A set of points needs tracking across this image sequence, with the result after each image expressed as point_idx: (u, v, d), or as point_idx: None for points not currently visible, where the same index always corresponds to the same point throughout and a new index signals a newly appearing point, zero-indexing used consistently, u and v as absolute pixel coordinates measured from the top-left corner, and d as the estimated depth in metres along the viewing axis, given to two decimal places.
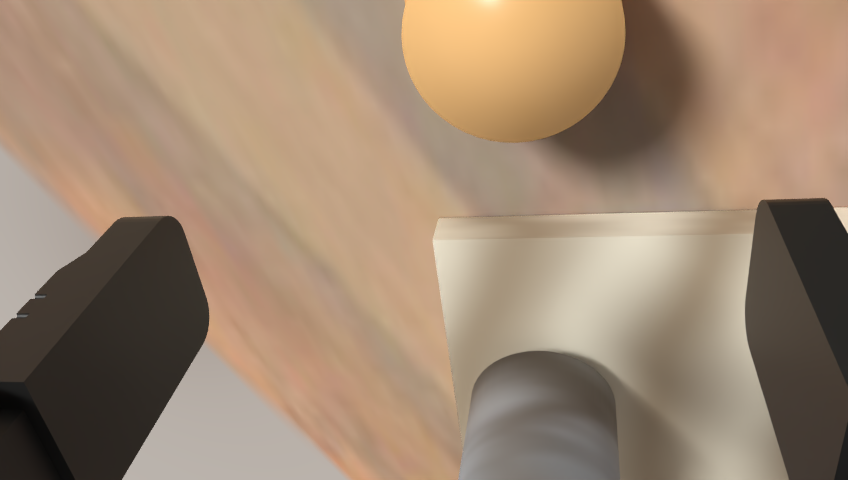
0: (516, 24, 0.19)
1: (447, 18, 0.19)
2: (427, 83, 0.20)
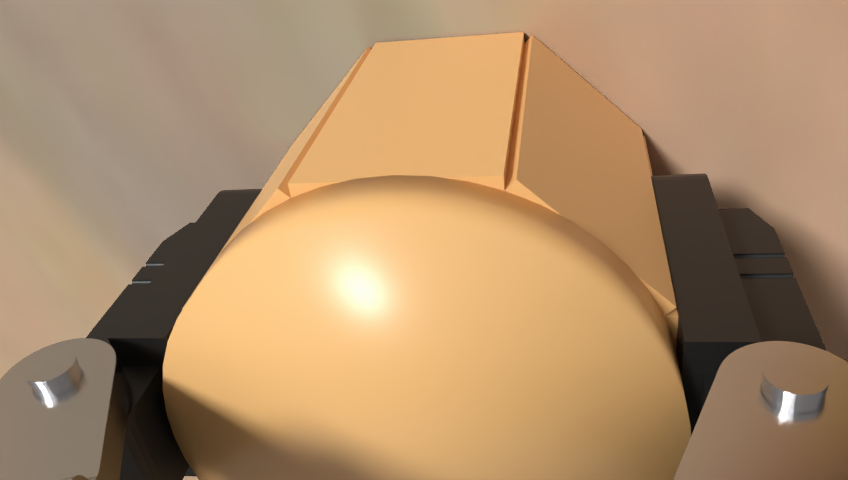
0: (426, 416, 0.08)
1: (264, 391, 0.08)
2: None
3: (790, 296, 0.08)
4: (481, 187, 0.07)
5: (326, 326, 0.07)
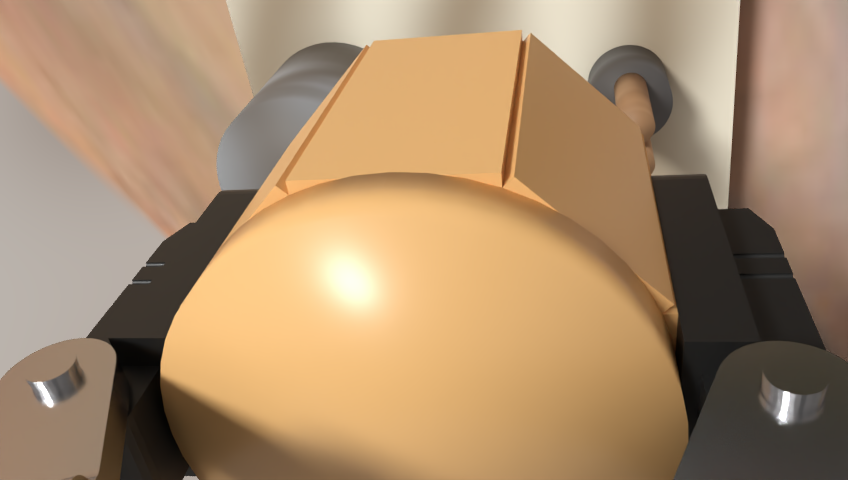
0: (424, 414, 0.08)
1: (262, 388, 0.08)
2: None
3: (790, 296, 0.08)
4: (479, 184, 0.07)
5: (323, 323, 0.07)
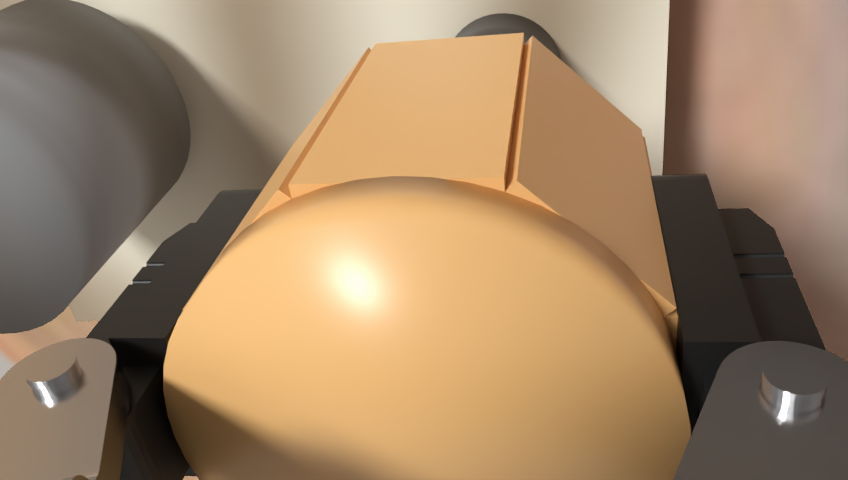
0: (426, 416, 0.08)
1: (266, 392, 0.08)
2: None
3: (790, 296, 0.08)
4: (481, 188, 0.07)
5: (326, 326, 0.07)
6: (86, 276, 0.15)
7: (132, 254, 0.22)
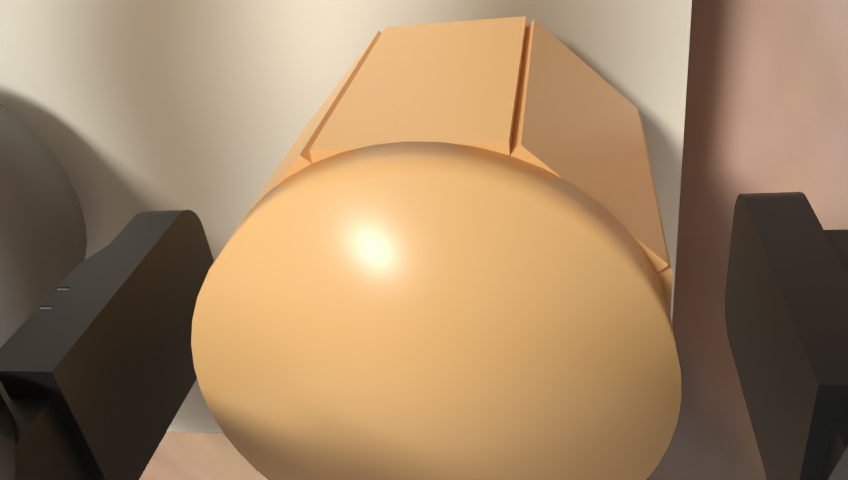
0: (436, 366, 0.08)
1: (285, 345, 0.09)
2: (260, 447, 0.10)
3: None
4: (488, 151, 0.08)
5: (344, 281, 0.08)
6: None
7: None
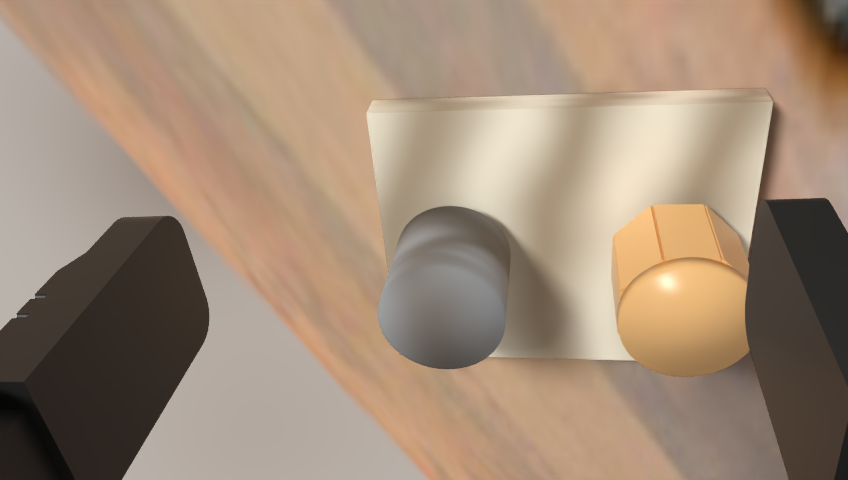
0: (694, 317, 0.31)
1: (651, 310, 0.31)
2: (630, 342, 0.32)
3: None
4: (715, 260, 0.30)
5: (675, 293, 0.30)
6: None
7: None
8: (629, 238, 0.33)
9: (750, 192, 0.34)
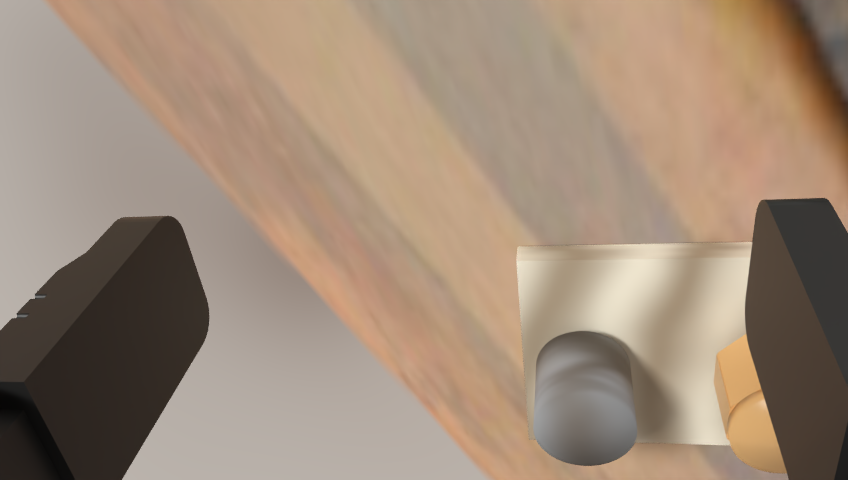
0: None
1: (757, 425, 0.39)
2: (738, 447, 0.40)
3: None
4: None
5: None
6: None
7: None
8: (732, 360, 0.42)
9: None
